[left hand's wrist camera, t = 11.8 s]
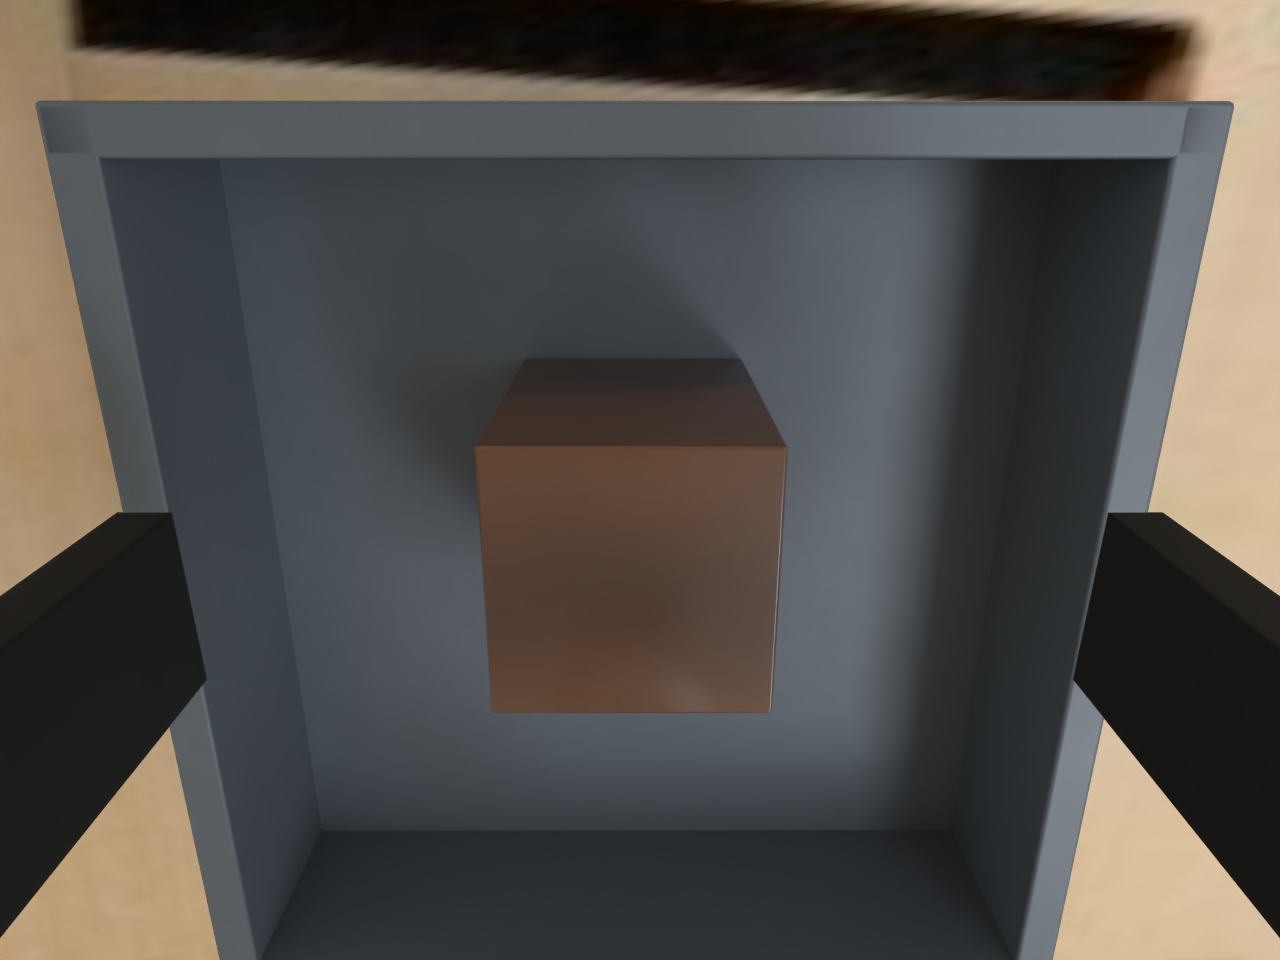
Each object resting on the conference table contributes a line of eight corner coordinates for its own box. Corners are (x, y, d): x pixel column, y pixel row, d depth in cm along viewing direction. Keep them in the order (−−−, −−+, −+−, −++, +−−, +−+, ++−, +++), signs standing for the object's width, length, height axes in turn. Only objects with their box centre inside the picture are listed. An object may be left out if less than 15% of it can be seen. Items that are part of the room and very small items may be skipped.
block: (524, 357, 18) (473, 445, 12) (741, 358, 18) (789, 446, 13) (533, 556, 20) (491, 714, 14) (733, 556, 20) (772, 714, 14)
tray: (185, 115, 17) (-367, 59, 8) (1086, 116, 17) (1629, 61, 8) (357, 1170, 28) (211, 1693, 18) (917, 1169, 28) (1062, 1691, 18)
